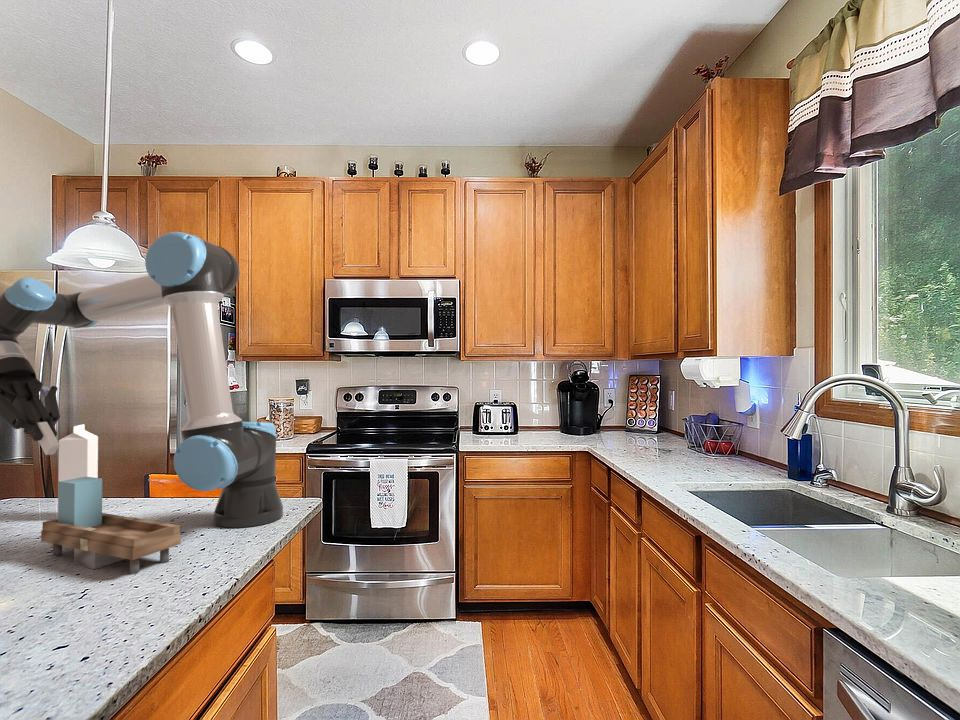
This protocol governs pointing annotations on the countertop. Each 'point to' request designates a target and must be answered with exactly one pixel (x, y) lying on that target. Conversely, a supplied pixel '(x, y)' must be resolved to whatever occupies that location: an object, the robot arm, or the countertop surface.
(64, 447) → the milk
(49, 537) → the long brown tray
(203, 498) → the countertop surface
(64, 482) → the block
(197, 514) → the countertop surface
